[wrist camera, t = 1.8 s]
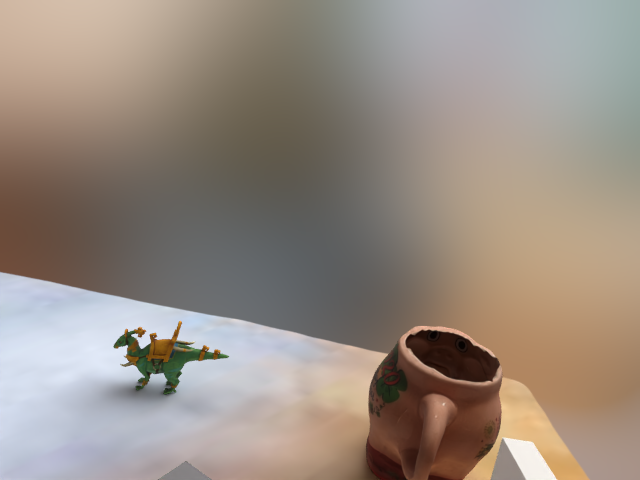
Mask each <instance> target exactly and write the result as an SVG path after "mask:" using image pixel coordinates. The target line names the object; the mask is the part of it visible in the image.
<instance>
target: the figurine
mask: <svg viewBox="0 0 640 480" xmlns="http://www.w3.org/2000/svg"><path fill="white" fill-rule="evenodd" d="M181 324H182V322H181V321H179V323H178V327H177V330H175V332H174V335H173V337H172V339H171V340H170V339H162V340H157V339H155V338H156V337H157V335H156V333H153V334H150V339H151V343H150V344H149V345H147V346H146V347H145V348H143V349H141V348H140V347H139V343H138V341H137V339H136V338H134V337H132V336H131V335H132V334H135V333H136V334H137V333H138V337H142V335H143V334H145V332H146V330H143V329H142V327H139V328H138V330H136V329H135V330H134V331H131V332H128V329H126V330H125V334H124V335H122V336H121V337H120V338H119V339H118V340H117V342H116V343H115V344H114V348H118V347H121V346H126V345H128V348H127V355H126V356H124V357H126V358H127V360H128V361H129V363H127V364H124V365H123V364H120V365H122V366H124V367H126V366H130V365H135V366H136V367H137V368H138V370H139V371H140V372H141V373H142V374H143V375H144V376H145V378H140V379H139V380H138V382H143V383H142V386H136V388H137V389H136V390H139V389H142V388H143V387H144V386H145V385H147V382H149V379H150V375H151V374H152V373H153V374H159V373H164V375H165V377H166V379H167V382H166V383H167V384H166V385H170V384H171V388H169V389H168V388H165V390H164V394H169V393H171V392H172V391H174V392H176V390H175V388H176V387H177V385H178V383H179V382H180V381H179V380H178V377H179V376H180V375H181V374H182V372H181V371H180V370H181V369H182V368H183V366H184V364H185V363H186V362H189V361H195V360H198V361H202V360H207V359H214V360H215V359H220V358H228V357H229V356H227V355H224V354H220V350H216V349H215V351H214V353H211V352H207V351H208V350H209V347H206V346H205V345H204V346H203V348H202V350H200V349H194V348H191V347H189V346H186V345H190V344H193V343H195V342H184V341H178V340H177V337H178V334H179V330H180V327H181ZM144 331H145V332H144ZM139 334H140V335H139ZM153 336H154V337H153ZM206 349H207V350H206ZM205 350H206V351H205ZM218 352H219V353H218Z"/></svg>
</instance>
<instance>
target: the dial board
mask: <svg viewBox="0 0 640 480" xmlns="http://www.w3.org/2000/svg"><path fill="white" fill-rule="evenodd" d="M158 480H211V479H210V478H209V477H207V476H206V475H205V474H203V473H202V472H200V471H199V470H198V469H196V468H195V467H194V466H192V465H191V464H189V463H188V462H187V461H185V462H184V463H182V464H181V465H179V466H178V467H176V468H175V469H173V470H172V471H170V472H169V473H167V474H166V475H164V476H163V477H161V478H160V479H158Z"/></svg>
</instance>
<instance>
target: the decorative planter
mask: <svg viewBox="0 0 640 480" xmlns="http://www.w3.org/2000/svg"><path fill="white" fill-rule="evenodd" d="M501 382H502V369H501V365H500V363H499V361H498V359H497V358H496V357H495V356H494V354H493V353H492V351H490V350H489V349H487V348H485V347H483V346H481V345H480V344H478V343H477V342H475V341H474V340H473V339H471V338H470V337H469V336H468V335H466V334H465V333H462V332H460V331H458V330H455V329H450V328H445V327H426V326H419V327H415V328H412V329H411V330H410V331H408V332H407V333H406V334H405V335H403V336H402V337H401V338H400V339H399V340H398V342H397V344H396V345H395V347H394V349H393V350H392V351H391V352H390V353H389V354H388V356H387V357H386V358H385V359H384V360H383V361H382V363H381V364H380V365H379V367H378V368H377V370H376V372H375V374H374V376H373V379H372V382H371V385H370V390H369V404H368V406H369V417H370V432H369V436H368V439H367V445H366V455H367V461H368V465H369V467H370V469H371V470H372V472H373V473H374V474H375V475H376V476H377V477H379V478H380V479H381V480H463V479H464V478H465V476H466V475H467V474H468V473H469V472H470V471H471V470H472V469H473V468H474V467H475V465H476V464H477V463H478V462H479V461H480V460H481V459H482V458H483V457H484V456H485V455H486V454H487V453H488V452H489V451H490V450H491V448H492V447H493V445H494V443H495V441H496V439H497V436H498V433H499V430H500V424H501V413H502V411H501V402H500V397H499V390H500V387H501Z"/></svg>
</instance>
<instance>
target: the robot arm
mask: <svg viewBox="0 0 640 480" xmlns="http://www.w3.org/2000/svg"><path fill="white" fill-rule="evenodd" d="M491 480H557V479H556V478H555V476H554V475H553V473H552V471H551V470H550V468H549V467H548V465H547V464H546V462H545V461H544V459H543V457H542V456H541V454H540V453H539V451H538V450H537V448H536V447H535V445H534V444H533V442H528V441H522V440H516V439H509V438H502V441H501V445H500V448H499V452H498V456H497V459H496V463H495V466H494V470H493V473H492V477H491Z"/></svg>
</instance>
